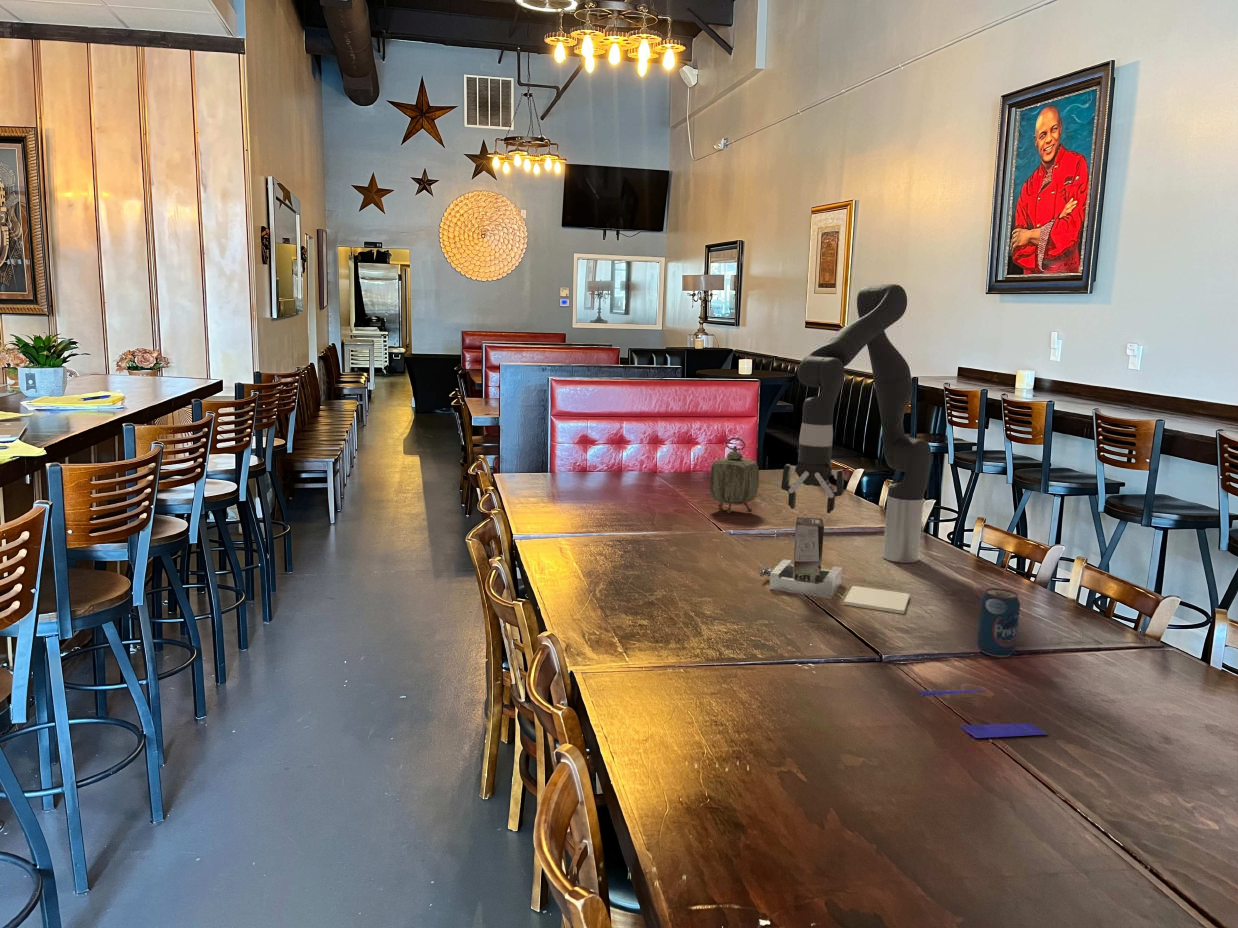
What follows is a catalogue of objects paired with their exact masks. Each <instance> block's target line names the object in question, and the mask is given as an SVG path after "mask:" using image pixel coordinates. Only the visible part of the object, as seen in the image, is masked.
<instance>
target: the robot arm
mask: <svg viewBox="0 0 1238 928" xmlns="http://www.w3.org/2000/svg"><path fill="white" fill-rule="evenodd" d="M856 297H857V298H856V310H857V315H858V319H855V320H854V321H852V322H850V323H848V324H846V325H845V326H844V327H842V328H841V329H839V330H838V331H837V332H836V333H835V334H834V335H833V337H832V338H830V339H829V340H828V342H827V343H826V344H824V345H821V346H820V347H819V348H816V349H815V350H813V351H811V352H810V353H808V354H806V356H805V357H803V359H802V360H801V362H800V363H799V365H798V369H797V378H798V381H799V382H800V383H801V384H802V385H803V386H807V387H811V388H821V391H820V392H819V395H818V396H813V397H808V398H806V399H805V400H804V402H803V405H802V419H801V426H800V430H799V431H800V433H799V437H798V438H799V439H798V441H799V443H798V457H797V464H796V465H791V464H790V463H787V464H785V465H784V466H783V471H782V479H781V485H780V486H781V487H780V488H781V490H783V491H785V492H786V491H787V492H788V501H787V502H788V503H787V505H788V507H790V509H791V510H795V508H796V505H797V504H796V501H797V492H796V491H797V489H799V488H800V487H801V486H802V484H804V485H805V486H814V487H822V489H823V490H824V491H825V492H826V494H827V496H828V497H827V503H826V513H827V514H831V513H832V512H833V511H834V510H835V504H836V503H835V502H836V498H837V497H841V496H843V494H844V493H845V469H843V468H841V469H832V465H831V463H832V453H833V441H834V440H833V439H834V438H833V437H834V429H833V423H834V413H835V412H834V410H835V407H836V406H835V405H836V403H837V399H838V396H839V393H840V390H841V388H842V386H843V383H844V380H845V374H846V370H845V367H847V366H848V365H849V364H850V363H851V362H852V361H853V360H854V359H855V358H856V356H858V354H859V353H860V352H861V351H862V350H863V349H864V348H865V347H867V350H868V354H869V355H868V356H869V361H870V365H871V371H872V378H873V385H874V389H875V394H876V399H877V403H878V410H879V415H880V420H881V423H880V424H881V433H882V444H883V455H884V456H883V457H884V459H885V462H886V464H887V465H888V467H889V468H890V469H893V470H897V471H899V472H904V477H903V480H902V481H900V482H899V481H898V482H895V483H891V484H889V486H888V491H887V500H886V501H887V502H886V513H885V522H884V523H885V524H884V535H883V537H884V538H883V548H882V558H883V559H885V560H887V561H891V562H895V563H906V564H910V563H911V564H912V563H917V562H918V560H919V552H920V544H921V543H920V541H921V532H922V531H921V530H922V523H923V521H922V520H923V509H924V501H925V500H924V499H925V492H926V490H927V487H928V484H929V477H930V469H931V462H932V449H931V446H930V443H929V441H927V440H925V439H921V438H916V437H909V436H906V433H905V429H904V415H905V413H906V410H907V408H908V405H909V404H910V402H911V399H912V396H913V392H914V390H913V389H914V388H913V387H914V385H913V381H912V375H911V369H910V367H909V364H908V362H907V360H906V359H905V358H904V357H903V355H902V354H901V353H900V351H899V350H898V349H897V348H896V347H895V346H894V344H893V343H892V342H891V341H890V339H889V337H888V336H887V333H886V330H887V329H888V328H889V327H891V326H892V325H894V324H895V323H897V321H899V320H901V318H902V317H904V314H905V313H906V310H907V307H908V296H907V293H906V289H904V287H902V286H901V285H900V284H896V283H895V284H894V283H891V284H890V283H888V284H887V283H886V284H878V285H877V284H875V285H866V286H864V287H862V288H860V290H859V291H858V294H857V296H856ZM794 471H795V473H796V475H797V476H798V479H797V480H796V481H795V482H794V483H793V484H792V485H790V476H791V475H792V474H793V473H794ZM831 476H833V478H834V479H835V480H836V490H835V489H834V487H833V486H832V484H831V483H830V481H829V478H830V477H831Z"/></svg>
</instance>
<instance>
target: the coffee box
mask: <svg viewBox="0 0 1238 928" xmlns="http://www.w3.org/2000/svg"><path fill="white" fill-rule="evenodd" d="M795 518H796V519H795V531H794V532H795V533H794V547H793V548H794V550H793V564H792V565H793V579H800V580H806V581H813V582H820V573H821V569H822V561H823V560H822V558H823V557H822V556H823V546H824V545H823V544H824V534H825V533H824V531H825V524H824V520H823V518H820V517H801V516H800V517H799V516H797V517H795ZM820 583H821V582H820Z"/></svg>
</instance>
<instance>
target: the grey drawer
mask: <svg viewBox="0 0 1238 928" xmlns="http://www.w3.org/2000/svg"><path fill="white" fill-rule="evenodd" d="M842 569H843V568H842V567H841V566H833V567H832V568H831V569H825V568H821V573H820V582H813V581H806V580H800V579H793V564H792V560H791V559H782V560H781V561H780V562H779V564H777V565H776V566H775V567H774V568H773V569H770V568H769V567H765V568H764V569H763V570H762V571H761V572H759V577H765V576H767V577H769V589H768V590H771V589H774V590H773V591H778V590H780V591H779V592H784V591H786V592H785V593H792V594H797V595H803V596H804V595H805V596H811V597H818V598H824V599H832V598H833V596H834V595H835V593H836V591H837V590H838V588H839V587H840V585H841V583H842Z"/></svg>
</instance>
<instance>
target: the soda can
mask: <svg viewBox="0 0 1238 928" xmlns="http://www.w3.org/2000/svg"><path fill="white" fill-rule="evenodd" d="M1018 597H1019V594H1018V593H1017V592H1015V591H1013V590H1010V589H1005V588H997V587H995V588H994V587H993V588H991V587H990V588H987V589H985V593H984V594H983V595H982V597H981V598H980V599H981V600H980V610H979V619H978V628H977V636H976V644H977V647H978V648H979V650H980V652H982V653H983V654H985V655H988V656H992V657H996V658H997V657H998V658H1006V657H1007V658H1008V657H1010V656H1011V655H1012V654H1013V653H1014V651H1016V645H1017V638H1018V627H1019V620H1020V610H1021V603H1020V601H1019V598H1018Z"/></svg>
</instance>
